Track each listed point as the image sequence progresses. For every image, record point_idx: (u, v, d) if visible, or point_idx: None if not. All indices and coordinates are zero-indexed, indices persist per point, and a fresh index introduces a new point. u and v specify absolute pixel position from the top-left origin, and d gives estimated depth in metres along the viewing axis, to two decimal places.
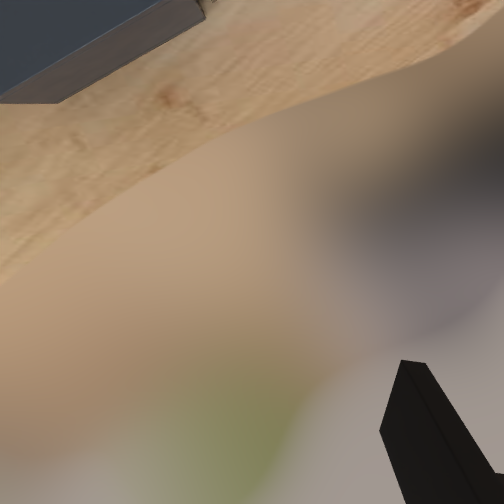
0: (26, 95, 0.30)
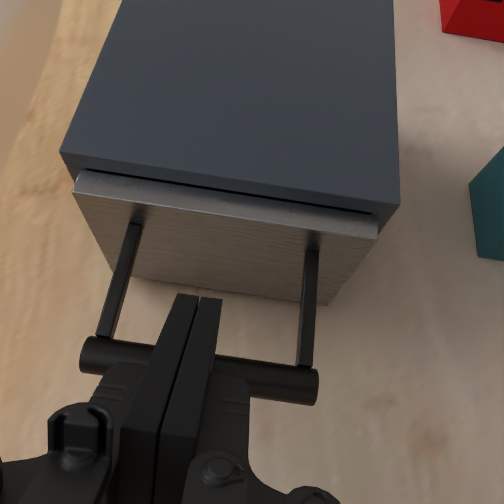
0: None
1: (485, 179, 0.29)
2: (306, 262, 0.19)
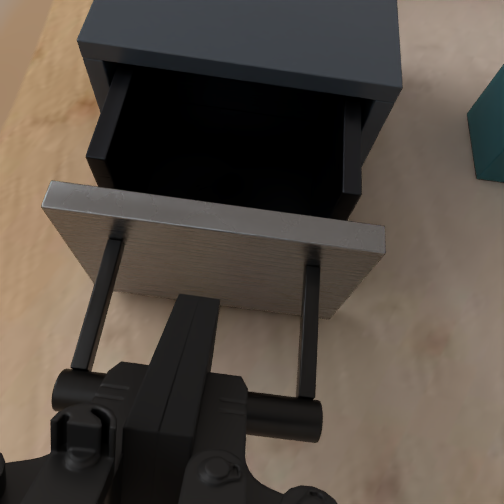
0: None
1: (482, 104, 0.30)
2: (306, 278, 0.17)
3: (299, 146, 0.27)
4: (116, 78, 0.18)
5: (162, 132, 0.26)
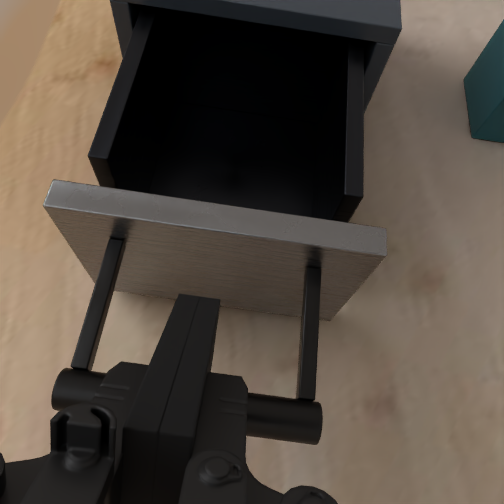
0: None
1: (478, 68, 0.32)
2: (307, 280, 0.17)
3: (301, 147, 0.27)
4: (119, 78, 0.19)
5: (164, 132, 0.26)
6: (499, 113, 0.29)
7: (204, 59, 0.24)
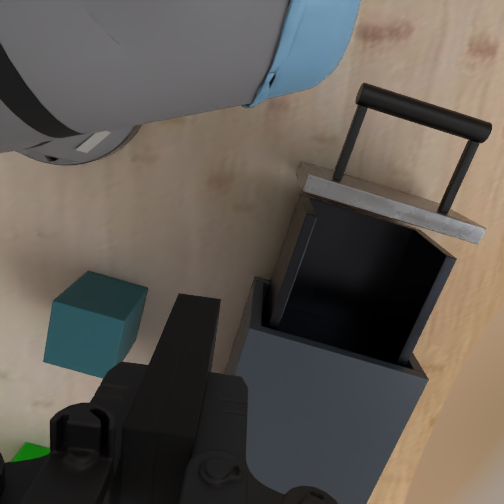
0: None
1: (132, 340, 0.41)
2: (343, 172, 0.30)
3: None
4: (429, 311, 0.31)
5: (381, 306, 0.38)
6: (134, 297, 0.39)
7: (356, 345, 0.36)
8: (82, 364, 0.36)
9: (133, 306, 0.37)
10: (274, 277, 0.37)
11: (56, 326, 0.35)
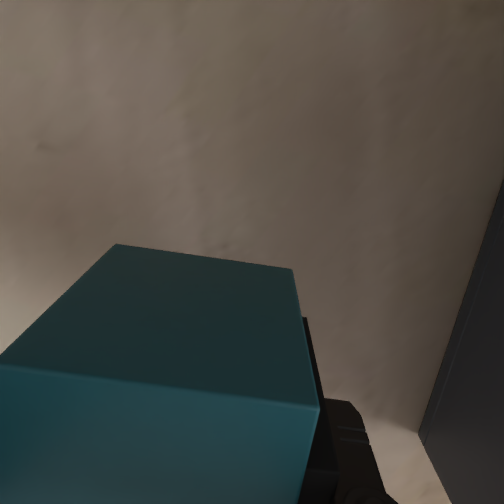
0: None
1: None
2: None
3: None
4: None
5: None
6: (281, 299, 0.12)
7: None
8: None
9: (301, 332, 0.10)
10: None
11: (26, 464, 0.08)
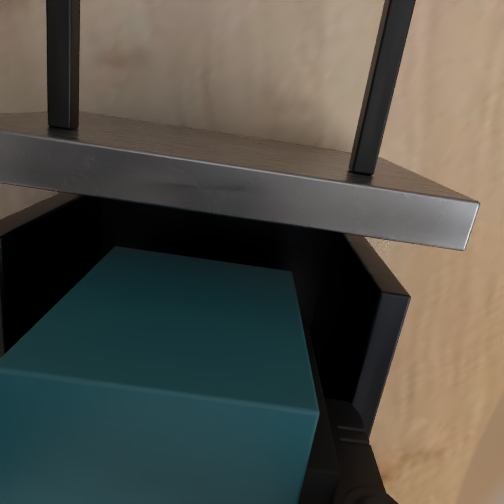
0: None
1: None
2: (68, 105, 0.11)
3: None
4: None
5: None
6: (281, 302, 0.12)
7: None
8: None
9: (301, 335, 0.10)
10: None
11: (26, 468, 0.08)
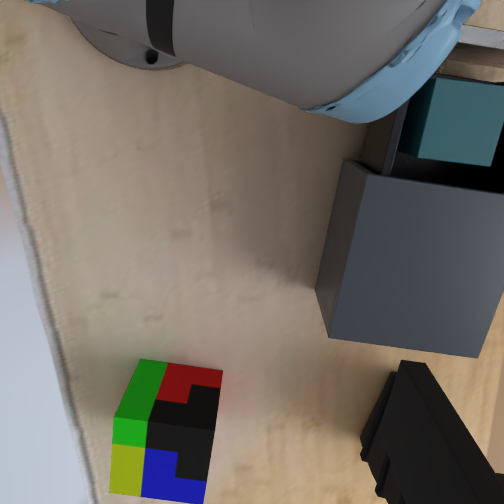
0: None
1: None
2: None
3: None
4: None
5: (468, 165, 0.41)
6: None
7: None
8: (460, 152, 0.34)
9: None
10: (368, 148, 0.39)
11: (437, 108, 0.33)
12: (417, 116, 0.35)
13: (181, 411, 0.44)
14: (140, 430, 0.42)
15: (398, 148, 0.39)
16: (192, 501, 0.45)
